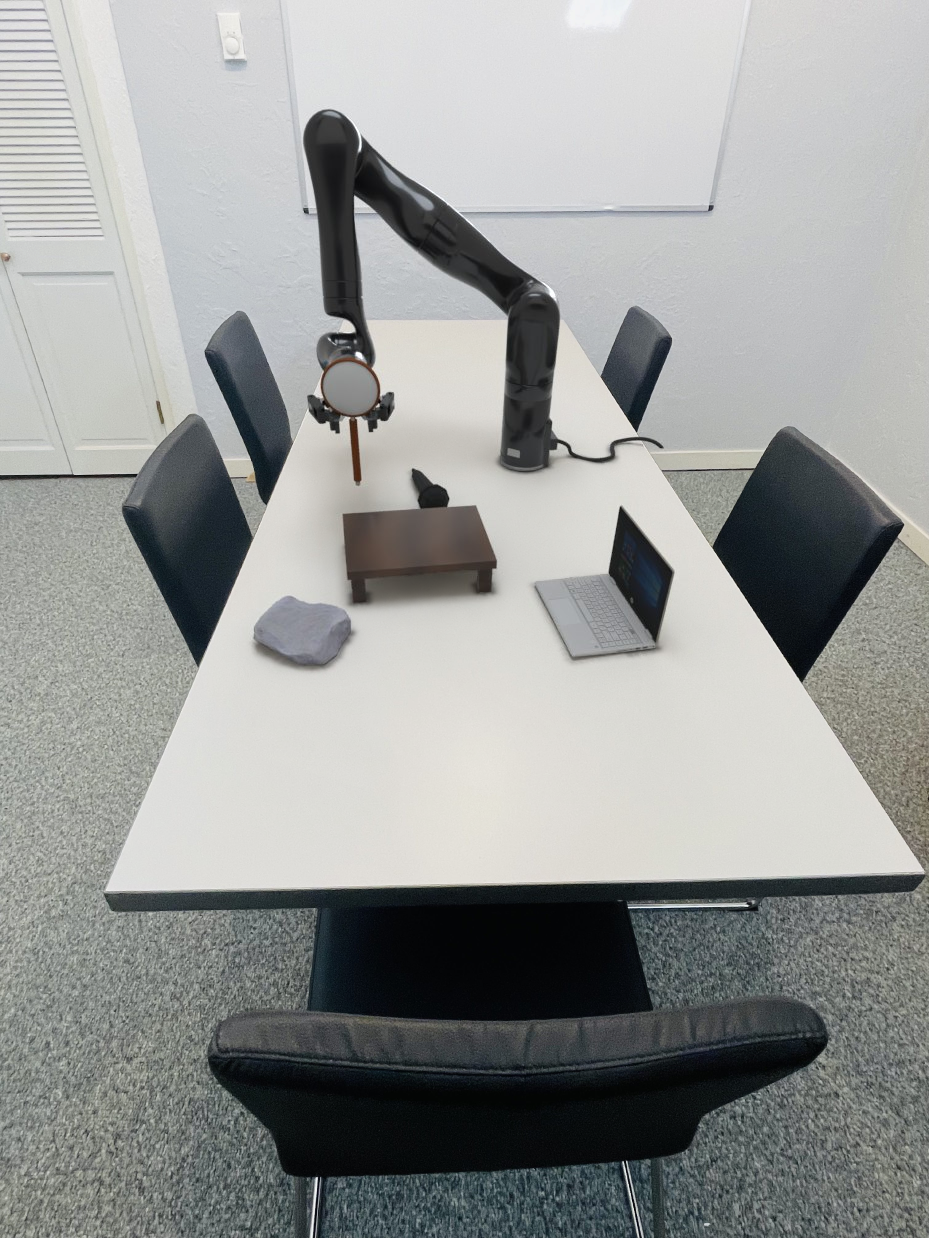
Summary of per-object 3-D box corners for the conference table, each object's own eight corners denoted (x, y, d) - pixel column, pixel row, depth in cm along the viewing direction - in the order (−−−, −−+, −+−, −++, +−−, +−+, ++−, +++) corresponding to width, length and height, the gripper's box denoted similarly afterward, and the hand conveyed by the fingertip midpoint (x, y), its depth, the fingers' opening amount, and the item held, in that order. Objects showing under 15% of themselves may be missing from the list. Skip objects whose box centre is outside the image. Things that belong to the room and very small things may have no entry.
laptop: (533, 585, 110) (540, 511, 103) (609, 577, 113) (622, 504, 105) (571, 660, 97) (583, 581, 89) (657, 649, 99) (676, 571, 91)
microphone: (405, 487, 142) (428, 525, 125) (394, 462, 138) (417, 497, 122) (430, 477, 142) (456, 513, 125) (420, 450, 139) (446, 484, 122)
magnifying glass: (329, 487, 112) (316, 359, 99) (331, 482, 113) (318, 355, 101) (384, 489, 112) (378, 361, 99) (386, 484, 113) (379, 357, 101)
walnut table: (474, 536, 122) (476, 505, 118) (495, 593, 109) (497, 560, 105) (345, 545, 119) (342, 513, 115) (349, 605, 105) (346, 571, 102)
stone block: (326, 680, 95) (357, 626, 101) (317, 657, 91) (351, 603, 97) (249, 661, 98) (284, 610, 104) (238, 639, 94) (275, 587, 101)
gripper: (302, 363, 113) (301, 403, 100) (392, 360, 116) (402, 400, 102) (308, 408, 118) (307, 453, 105) (393, 405, 120) (403, 448, 107)
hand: (354, 426), depth 104 cm, fingers closed on magnifying glass, 4 cm apart
